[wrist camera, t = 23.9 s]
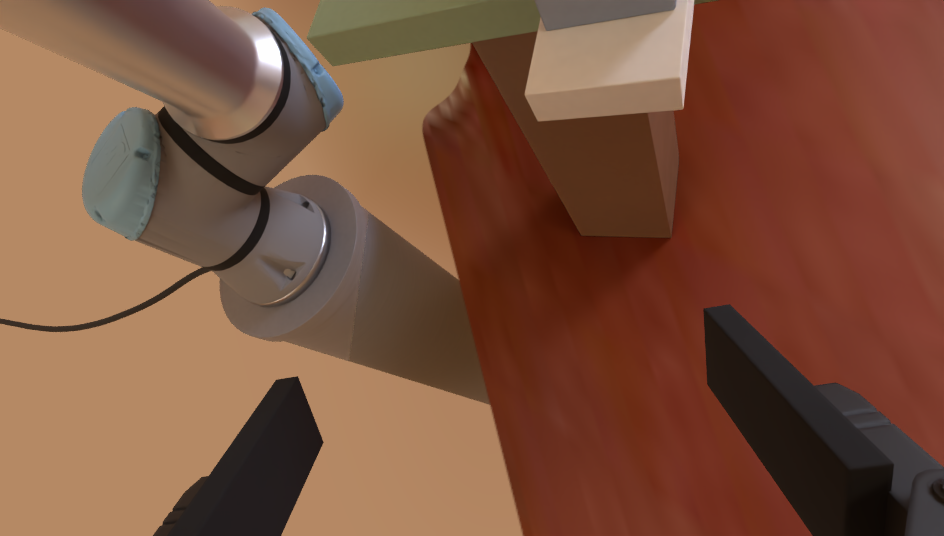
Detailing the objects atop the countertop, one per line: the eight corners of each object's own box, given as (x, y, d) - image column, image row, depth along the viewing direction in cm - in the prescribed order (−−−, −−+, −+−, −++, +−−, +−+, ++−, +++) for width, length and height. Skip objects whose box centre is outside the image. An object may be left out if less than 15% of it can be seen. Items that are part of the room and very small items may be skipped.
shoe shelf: (747, 286, 40) (802, -45, 14) (514, 271, 49) (297, 53, 24) (755, 125, 44) (808, -347, 19) (539, 139, 53) (379, -165, 28)
